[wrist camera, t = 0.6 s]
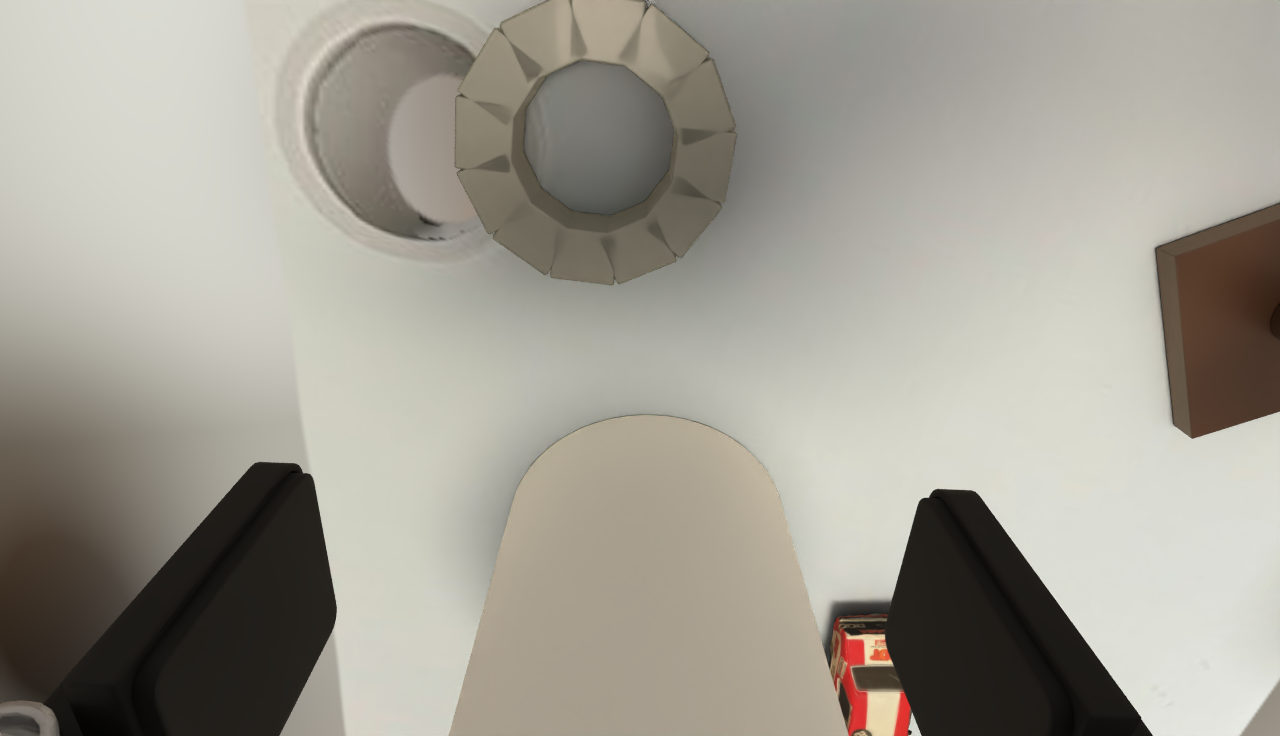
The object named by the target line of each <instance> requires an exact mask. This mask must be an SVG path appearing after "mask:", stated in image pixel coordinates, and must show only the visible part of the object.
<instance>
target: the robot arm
mask: <svg viewBox="0 0 1280 736" xmlns="http://www.w3.org/2000/svg"><path fill="white" fill-rule="evenodd" d="M336 613H337V607H336V600H335V594H334V589H333V583H332V578H331V572H330V567H329V561H328V556H327V550H326V545H325V539H324V534H323V528H322V523H321V517H320V512H319V506H318V501H317V495H316V490H315V484H314V480H313V477H312V476H311V475H310V474H307V473H303V472H302V469H301V468H300V466H299V465H297V464H294V463H271V462H270V463H269V462H258V463H255V464H254V465H252V466H251V467H250V468H249V469H248V470H247V472H246V473H245V474H244V475H243V476H242V477H241V478H240V480H239V481H238V482H237V483H236V484H235V485H234V486H233V487H232V489H231V490H230V491H229V492H228V493H227V494H226V495H225V497H224V498H223V499H222V500H221V501H220V502H219V503H218V505H217V506H216V507H215V508H214V509H213V510H212V511H211V513H210V514H209V515H208V516H207V517H206V518H205V519H204V520H203V522H202V523H201V524H200V525H199V526H198V527H197V529H196V530H195V531H194V532H193V533H192V534H191V535H190V537H189V538H188V539H187V540H186V541H185V542H184V543H183V544H182V545H181V547H180V548H179V549H178V550H177V551H176V552H175V553H174V555H173V556H172V557H171V558H170V559H169V560H168V561H167V562H166V564H165V565H164V566H163V567H162V568H161V569H160V570H159V572H158V573H157V574H156V575H155V576H154V577H153V578H152V580H151V581H150V582H149V583H148V584H147V585H146V586H145V587H144V589H143V590H142V591H141V592H140V593H139V594H138V596H137V597H136V598H135V599H134V600H133V601H132V602H131V603H130V605H129V606H128V607H127V608H126V609H125V610H124V611H123V612H122V614H121V615H120V616H119V617H118V618H117V619H116V620H115V622H114V623H113V624H112V625H111V626H110V627H109V628H108V630H107V631H106V632H105V633H104V634H103V635H102V636H101V638H100V639H99V640H98V641H97V642H96V643H95V644H94V645H93V647H92V648H91V649H90V650H89V651H88V652H87V653H86V655H85V656H84V657H83V658H82V659H81V660H80V661H79V663H78V664H77V665H76V666H75V667H74V668H73V669H72V671H71V672H70V673H69V674H68V675H67V676H66V677H65V678H64V680H63V681H62V682H61V683H60V685H59V686H58V687H57V689H56V690H55V691H54V692H53V693H52V694H51V695H50V697H49V698H48V699H47V700H46V701H45V702H44V703H43V704H41V703H39V702H30V701H13V702H7V703H0V736H279V735H280V733H281V731H282V729H283V727H284V725H285V723H286V721H287V720H288V718H289V716H290V714H291V712H292V710H293V708H294V706H295V704H296V702H297V700H298V698H299V696H300V694H301V692H302V690H303V688H304V686H305V684H306V682H307V680H308V678H309V676H310V674H311V672H312V670H313V668H314V666H315V664H316V662H317V660H318V658H319V656H320V654H321V652H322V650H323V648H324V646H325V644H326V642H327V640H328V638H329V636H330V634H331V633H332V630H333V628H334V624H335V620H336ZM885 642H886V647H887V650H888V653H889V655H890V658H891V660H892V663H893V665H894V668H895V670H896V673H897V675H898V678H899V680H900V683H901V685H902V688H903V690H904V693H905V695H906V698H907V700H908V703H909V705H910V708H911V710H912V713H913V715H914V718H915V720H916V723H917V725H918V728H919V730H920V733H921V735H922V736H1153V735H1152V734H1151V732H1150V731H1149V729H1148V728H1147V727H1146V725H1145V724H1144V723H1143V721H1142V720H1141V717H1140V715H1139V714H1138V712H1137V711H1136V710H1135V708H1134V707H1133V706H1132V704H1131V703H1130V701H1129V700H1128V699H1127V697H1126V696H1125V695H1124V693H1123V692H1122V690H1121V689H1120V688H1119V686H1118V685H1117V684H1116V682H1115V681H1114V680H1113V678H1112V677H1111V675H1110V674H1109V673H1108V671H1107V670H1106V669H1105V667H1104V666H1103V664H1102V663H1101V662H1100V660H1099V659H1098V658H1097V656H1096V655H1095V653H1094V652H1093V651H1092V649H1091V648H1090V647H1089V645H1088V644H1087V643H1086V641H1085V640H1084V638H1083V637H1082V636H1081V634H1080V633H1079V632H1078V630H1077V629H1076V627H1075V626H1074V625H1073V623H1072V622H1071V621H1070V619H1069V618H1068V616H1067V615H1066V614H1065V612H1064V611H1063V610H1062V608H1061V607H1060V606H1059V604H1058V603H1057V601H1056V600H1055V599H1054V597H1053V596H1052V595H1051V593H1050V592H1049V590H1048V589H1047V588H1046V586H1045V585H1044V584H1043V582H1042V581H1041V579H1040V578H1039V577H1038V575H1037V574H1036V573H1035V571H1034V570H1033V569H1032V567H1031V566H1030V564H1029V563H1028V562H1027V560H1026V559H1025V558H1024V556H1023V555H1022V553H1021V552H1020V551H1019V549H1018V548H1017V547H1016V545H1015V544H1014V542H1013V541H1012V540H1011V538H1010V537H1009V536H1008V534H1007V533H1006V532H1005V530H1004V529H1003V527H1002V526H1001V525H1000V523H999V522H998V521H997V519H996V518H995V516H994V515H993V514H992V512H991V511H990V510H989V508H988V507H987V505H986V504H985V503H984V501H983V500H982V499H981V497H980V496H979V495H978V494H977V493H976V492H974V491H971V490H947V489H936V490H934V491H933V492H932V493H931V494H930V497H929V498H923V499H921V500H920V502H919V504H918V506H917V510H916V514H915V517H914V521H913V525H912V529H911V532H910V536H909V540H908V543H907V547H906V551H905V554H904V558H903V562H902V565H901V569H900V573H899V576H898V580H897V584H896V587H895V591H894V595H893V598H892V602H891V606H890V609H889V613H888V617H887V621H886V625H885Z"/></svg>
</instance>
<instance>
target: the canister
mask: <svg viewBox="0 0 1280 736" xmlns="http://www.w3.org/2000/svg"><path fill="white" fill-rule="evenodd" d="M449 736H849V735H848V731H847V728H846V724H845V721H844V718H843V714H842V711H841V707H840V704H839V700H838V697H837V693H836V690H835V687H834V683H833V680H832V676H831V673H830V669H829V666H828V662H827V659H826V655H825V652H824V649H823V645H822V642H821V638H820V635H819V631H818V628H817V624H816V621H815V618H814V614H813V611H812V607H811V604H810V600H809V597H808V593H807V590H806V587H805V583H804V580H803V576H802V573H801V569H800V566H799V562H798V559H797V555H796V552H795V549H794V545H793V542H792V538H791V535H790V531H789V528H788V524H787V521H786V518H785V514H784V511H783V507H782V504H781V500H780V497H779V494H778V491H777V489H776V487H775V485H774V483H773V481H772V479H771V477H770V476H769V474H768V473H767V471H766V470H765V468H764V467H763V466H762V465H761V463H760V462H759V461H758V460H757V459H756V458H755V457H754V456H753V455H752V454H751V453H750V452H749V451H748V450H747V449H745V448H744V447H743V446H742V445H740V444H739V443H738V442H736V441H735V440H733V439H732V438H730V437H728V436H727V435H725V434H723V433H721V432H719V431H717V430H715V429H713V428H710V427H708V426H705V425H703V424H700V423H697V422H693V421H690V420H686V419H681V418H676V417H669V416H659V415H635V416H625V417H618V418H613V419H608V420H604V421H601V422H597V423H594V424H591V425H589V426H586V427H583V428H581V429H579V430H577V431H575V432H573V433H571V434H569V435H567V436H565V437H564V438H562V439H561V440H559V441H558V442H556V443H555V444H553V445H552V446H551V447H549V448H548V449H547V450H546V451H545V452H544V453H543V454H542V455H540V456H539V457H538V459H537V460H536V461H535V462H534V463H533V464H532V465H531V467H530V468H529V469H528V471H527V472H526V474H525V475H524V477H523V478H522V480H521V482H520V484H519V486H518V488H517V490H516V493H515V496H514V499H513V502H512V506H511V510H510V513H509V517H508V521H507V524H506V528H505V532H504V535H503V539H502V543H501V546H500V550H499V554H498V557H497V561H496V565H495V568H494V572H493V576H492V579H491V583H490V587H489V590H488V594H487V598H486V601H485V605H484V609H483V612H482V616H481V620H480V623H479V627H478V631H477V634H476V638H475V642H474V645H473V649H472V653H471V656H470V660H469V664H468V667H467V671H466V675H465V678H464V682H463V686H462V689H461V693H460V697H459V700H458V704H457V708H456V711H455V715H454V719H453V722H452V726H451V730H450V733H449Z"/></svg>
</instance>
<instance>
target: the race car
mask: <svg viewBox="0 0 1280 736" xmlns="http://www.w3.org/2000/svg"><path fill="white" fill-rule="evenodd" d="M887 617H888V615H887V614H880V613H877V614H869V615H867V616H865V615H857V616H846V617H843V616H840V617H838V618H836V619H835V623H834V627H833V637H832V640H831V642H830V662H829V664H828V666H829V669H830V673H831V676H832V680H833V683H834V687H835V690H836V693H837V697H838V700H839V704H840V707H841V711H842V714H843V718H844V721H845V724H846V728H847V731H848V735H849V736H908V735H911V733H912V731H910V730H908V728H909V725H910V719H911V714H912V710H911V708H910V705H909V703H908V700H907V698H906V695H905V693H904V690H903V688H902V685H901V683H900V680H899V678H898V675H897V673H896V670H895V668H894V665H893V663H892V660H891V658H890V655H889V653H888V650H887V647H886V642H885V625H886V621H887Z"/></svg>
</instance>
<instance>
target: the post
mask: <svg viewBox="0 0 1280 736" xmlns="http://www.w3.org/2000/svg"><path fill="white" fill-rule="evenodd" d="M1156 254H1157V264H1158V273H1159V283H1160V293H1161V303H1162V312H1163V322H1164V332H1165V341H1166V351H1167V361H1168V370H1169V380H1170V390H1171V400H1172V409H1173V419H1174V425H1175V426H1176V427H1177V428H1178V429H1180V430H1181V431H1182V432H1184V433H1185V434H1186V435H1188V436H1189V437H1190V438H1192V439H1193V438H1196V437H1200V436H1203V435H1206V434H1209V433H1212V432H1216V431H1219V430H1222V429H1225V428H1229V427H1232V426H1235V425H1238V424H1241V423H1245V422H1248V421H1251V420H1254V419H1257V418H1261V417H1264V416H1267V415H1270V414H1273V413H1277V412H1280V204H1278V205H1275V206H1272V207H1269V208H1266V209H1264V210H1261V211H1258V212H1255V213H1253V214H1250V215H1247V216H1244V217H1241V218H1239V219H1236V220H1233V221H1230V222H1227V223H1225V224H1222V225H1219V226H1216V227H1213V228H1211V229H1208V230H1205V231H1202V232H1200V233H1197V234H1194V235H1191V236H1188V237H1186V238H1183V239H1180V240H1177V241H1174V242H1172V243H1169V244H1166V245H1163V246H1161V247H1158V248H1156Z"/></svg>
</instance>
